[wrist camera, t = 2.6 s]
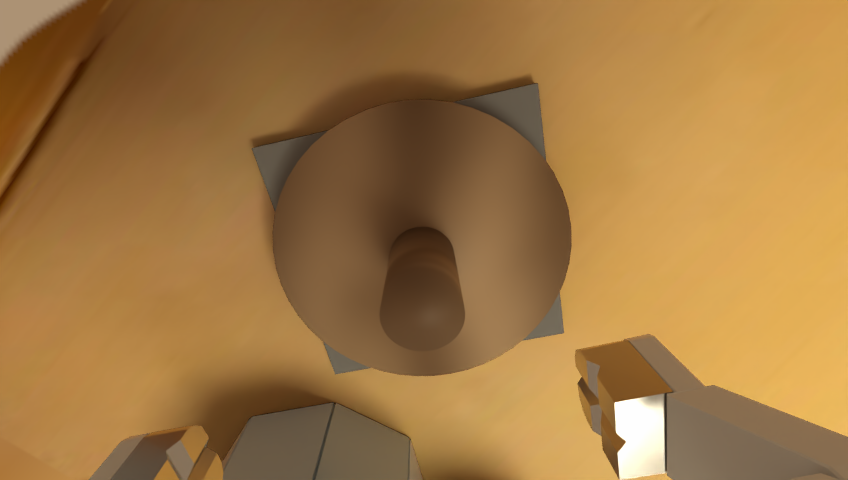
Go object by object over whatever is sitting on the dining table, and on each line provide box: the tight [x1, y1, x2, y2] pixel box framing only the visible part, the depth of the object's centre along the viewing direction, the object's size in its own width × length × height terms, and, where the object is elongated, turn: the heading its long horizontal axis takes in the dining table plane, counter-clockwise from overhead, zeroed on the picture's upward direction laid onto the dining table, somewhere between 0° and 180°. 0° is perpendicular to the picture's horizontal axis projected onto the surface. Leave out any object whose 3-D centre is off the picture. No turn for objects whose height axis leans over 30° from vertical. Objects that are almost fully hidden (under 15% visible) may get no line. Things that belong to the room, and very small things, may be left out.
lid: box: [273, 99, 571, 376], centre depth 15 cm, size 12×12×5 cm
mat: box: [252, 83, 564, 374], centre depth 17 cm, size 11×11×1 cm
